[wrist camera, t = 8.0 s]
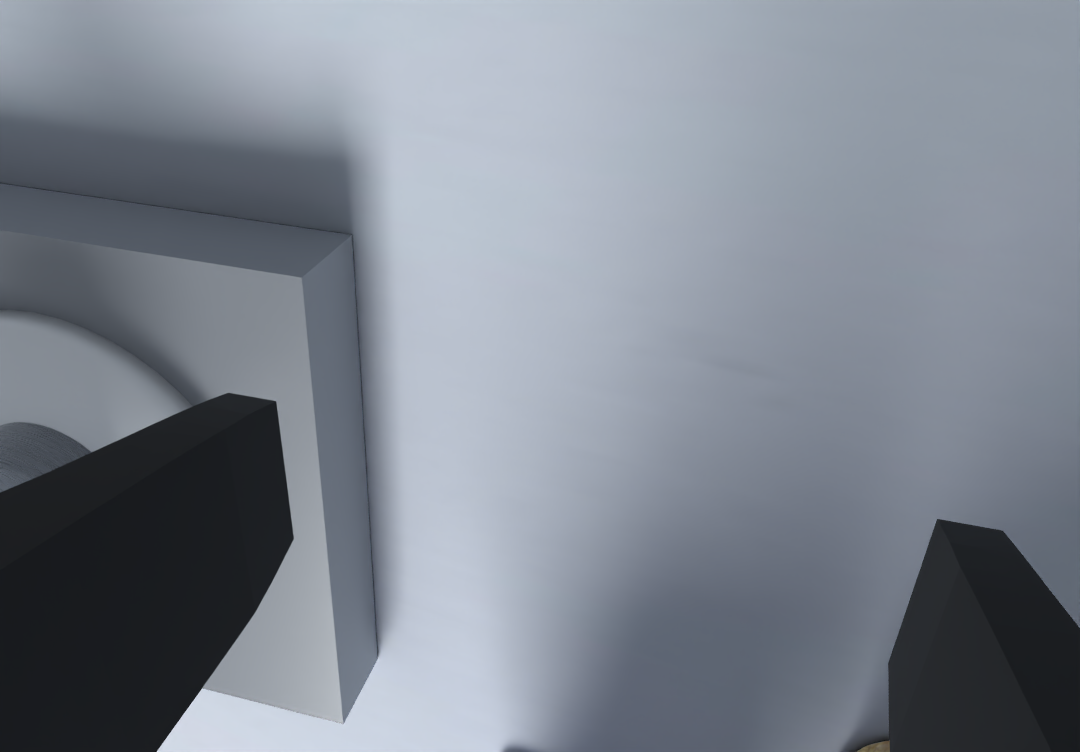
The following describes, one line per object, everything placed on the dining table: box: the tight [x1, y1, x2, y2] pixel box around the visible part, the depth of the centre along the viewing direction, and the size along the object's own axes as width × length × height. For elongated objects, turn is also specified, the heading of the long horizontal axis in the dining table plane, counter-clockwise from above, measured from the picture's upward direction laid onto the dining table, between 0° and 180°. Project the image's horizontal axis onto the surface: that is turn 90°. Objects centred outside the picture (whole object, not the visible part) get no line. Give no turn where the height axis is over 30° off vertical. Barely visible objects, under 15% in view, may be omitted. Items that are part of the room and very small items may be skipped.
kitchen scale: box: [0, 183, 378, 724], centre depth 24 cm, size 14×15×5 cm
